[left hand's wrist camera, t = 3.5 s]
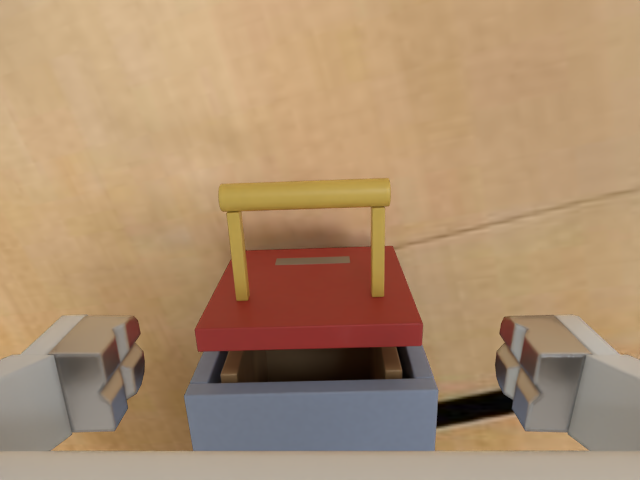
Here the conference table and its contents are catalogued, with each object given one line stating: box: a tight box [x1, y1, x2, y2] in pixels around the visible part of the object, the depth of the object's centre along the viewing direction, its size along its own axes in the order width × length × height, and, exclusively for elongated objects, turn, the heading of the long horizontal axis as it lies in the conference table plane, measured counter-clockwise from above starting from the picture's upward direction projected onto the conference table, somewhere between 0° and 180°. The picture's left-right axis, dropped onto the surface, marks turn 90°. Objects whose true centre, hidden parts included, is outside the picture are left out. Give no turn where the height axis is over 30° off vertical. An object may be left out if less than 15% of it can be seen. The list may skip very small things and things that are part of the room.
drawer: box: [195, 178, 423, 383], centre depth 26 cm, size 22×10×10 cm, turn 2°
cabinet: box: [184, 345, 438, 451], centre depth 28 cm, size 17×11×12 cm
